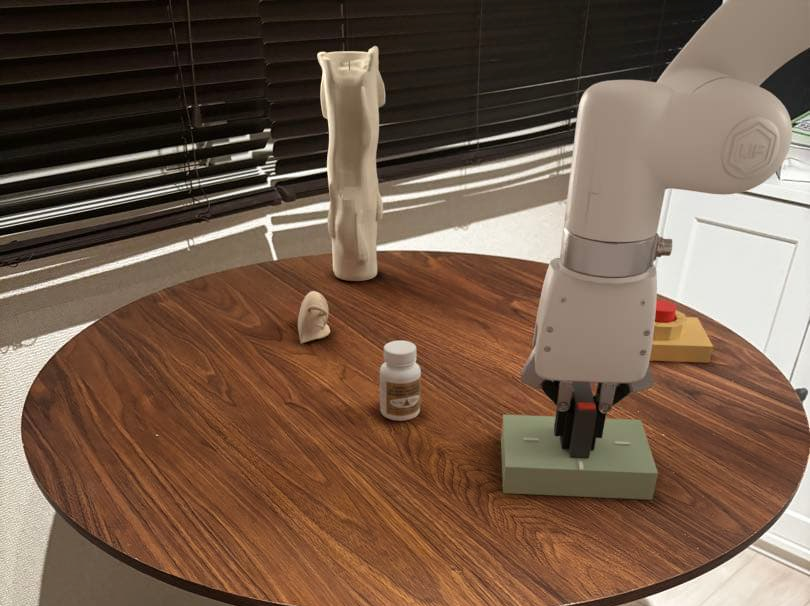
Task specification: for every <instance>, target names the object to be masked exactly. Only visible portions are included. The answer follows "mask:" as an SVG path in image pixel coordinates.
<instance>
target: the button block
mask: <svg viewBox="0 0 810 606" xmlns="http://www.w3.org/2000/svg"><path fill="white" fill-rule="evenodd" d="M713 348H714V345H713V344H712V342H711V339H710V338H709V335H708V334H707V332H706V331H705V328H704V327H703V325H702V323H701V321H700V320H699V318H698V316H697V317H695V316H692V317H691V316H686V314H685V313H683V312H681V311H679V310H678V309H676V314H675V318H674V321H673V322H669V323H658V322H655V324H654V333H653V342H652V349H651V355H650V361H649V362H676V363H702V364H703V363H704V364H705V363H706V364H707V363H708V364H709V363H710V360H711V357H712V352H713Z"/></svg>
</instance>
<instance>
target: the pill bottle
mask: <svg viewBox="0 0 810 606" xmlns="http://www.w3.org/2000/svg"><path fill="white" fill-rule="evenodd" d="M383 361H384V362H383V363H382V364H381V366H380V368H379V406H380V407H379V408H380V409H379V410H380V413H381V415H382V416H383V417H384V418H386V419H388V420H391V421H397V422H403V421H409V420H412V419H414V418H416V417H417V416H418V415H419V414H420V411H421V387H422V386H421V385H422V384H421V383H422V382H421V381H422V378H421V377H422V370H421V367H420V365H419V364H418V363H417V345H416V344H415V343H414V342H411V341H408V340H392V341H389V342H387V343H385V345H383Z"/></svg>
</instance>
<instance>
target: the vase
mask: <svg viewBox="0 0 810 606" xmlns="http://www.w3.org/2000/svg"><path fill="white" fill-rule="evenodd" d="M316 56H317V61H318V63H319V65H320V67H321V71H322V76H321V83H320V106H321V112H322V116H323V118H324V119H326V120H327V124H328V150H327V158H326V159H327V160H326V170H327V171H326V172H327V182H328V191H329V208H328V214H327V231H328V235H329V236H330V238H331V250H332V252H331V254H332V271H333V273H334V276H335V277H336V278H338V279H340V280H344V281H350V282H360V281H361V282H362V281H368V280H371V279H373V278H375V277H376V276H377V275H378V259H377V257H378V256H377V255H378V254H377V236H378V235H377V234H378V222H379V221H381V220H382V219H383V214H384V203H383V202H384V201H383V198H382V196H381V193H380V190H379V189H380V188H379V179H378V173H377V150H378V143H379V137H380V136H379V134H380V112H379V110H380V109H379V108H382V107H383V106H384V105H385V104H386V90H385V89H386V88H385V83H384V80H383V78H382V75H381V72H380V71H379V65H380V64H379V63H380V61H379V47H378V46H376V45H374V46H372V47H371V48H369V49H368V51H357V50H356V51H355V50H354V51H353V50H351V51H350V50H349V51H346V50H345V51H344V50H343V51H342V50H341V51H329V52H326V51H319V52H318V53H317V55H316Z"/></svg>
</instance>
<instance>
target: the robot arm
mask: <svg viewBox="0 0 810 606" xmlns="http://www.w3.org/2000/svg"><path fill="white" fill-rule="evenodd" d="M808 49H810V0H725V1H724V2H723V3H722V4H721V5H720V6H719V7H718V8H717V9H716V10H715V11H714V12H713V13H712V14H711V15H710V16H709V17H708V18H707V19H706V21H705V22H704V23H703V24H702V25H701V26H700V28H699V29H698V30H697V31H696V32H695V33H694V35H692V37H691V38H690V39H689V41H688V42H686V44H685V45H684V46H683V48H682V49H681V50H680V51H679V52H678V53H677V55H676V56H675V57H674V58H673V60H672V61H671V62H670V63H669V64H668V65H667V66H666V68H665V69H664V71H663V72H662V73H661V75H660V76H659V78H658V79H657V81H656V82H655V81H650V80H639V79H612V80H603V81H599V82H596V83H593V84H592V85H591V86H589V87H588V88H587V89H585V91H584V92H583V94H582V95H581V97H580V101H579V102H578V103H579V104H578V108H577V109H578V110H577V115H576V123H575V131H574V132H575V133H574V140H573V147H572V156H571V163H570V171H569V172H570V173H569V180H568V186H567V196H566V204H565V213H564V220H563V228H562V236H561V244H560V253H559V257H555V258H553V259H551V260H550V262H549V264H548V267H547V269H546V272H545V273H546V274H545V277H544V281H543V284H542V289H541V293H540V298H539V303H538V307H537V313H536V319H535V325H534V333H533V339H532V351H531V353H530V354H529V356H528V358H527V359H526V361H525V364H524V365H523V366H522V369H521V371H520V380H521V381H520V382H522V383H523V384H524V385H527V386H529V387H532V388H533V389H536V390H541V391H542V392H543V393H544V394H545V396H547V397H548V399H550V400H551V402H552V403H553V404H554V405H555V406H556V410H555V416H554V417H555V424H554V435H555V436H560V441H561V448H562V449H567V448H569V443H570V436H571V430H572V423H573V416H574V412H573V407H572V406H573V403H572V398H571V395H572V387H573V382H590V383H596V388H595V393H594V395H593V397H594V402H595V406H596V410H597V414H596V420H595V426H594V432H593V438H592V444H591V450H594V448H595V442H596V438H602V435H603V429H604V423H605V419H607V418H606V417H607V414H608V413H610V412H611V411H612V409H613V407H614V406H615V405H616V404H617V403H619V402H621V401H622V400H624V399H625V398H626V397H627V396H629V395H630V394H635V393H637V392H641V391H644V390H645V391H646V390H648V389H651V388H652V387H653V386H654V379H653V375H652V369H651V365H650V362H651V361H650V355H651V349H652V342H653V333H654V324H655V313H656V301H657V300H658V299H657V298H658V274H657V267H656V266H655V264H654V262H655V261H656V260H657V258H661V257H663V256H664V257H670V256H671V254H672V251H673V239H672V238H664V237H663V236H660V235H659V233H658V230H659V225H660V218H661V214H662V208H663V203H664V198H665V193H666V190H669V189H672V190H682V191H689V192H695V193H697V192H698V193H702V194H703V193H704V194H709V195H710V194H711V195H723V196H724V195H734V194H740V193H745V192H747V191H750V190H753V189H755V188H756V187H759V186H760V185H762V184H764V183H765V182H767V180H769V179H770V178H772V176H774V175H775V173H776V172H777V171H779V169H780V168H781V166H782V165H783V163H784V162H785V160H786V158H787V156H788V154H789V151H790V149H791V144H792V140H793V125H792V120H791V117H790V114H789V112H788V109H787V108H786V106H785V105H784V104H783V103H782V100H780V99H779V98H778V97H776V95H775V94H773V93H772V92H771V91H769V90H767V89H766V88H763V87H761V85H762V84H763V83H764V82H765V81H766V80H767V79H769V77H770V76H771V75H773V74H774V73H775V72H776V71H777V70H778V69H780V68H781V67H782V66H784V65H785V64H786V63H788V62H789V61H790V60H792V59H793V58H795V57H797V56H798V55H799V54H801V53H803V52H805V51H806V50H808Z"/></svg>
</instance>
